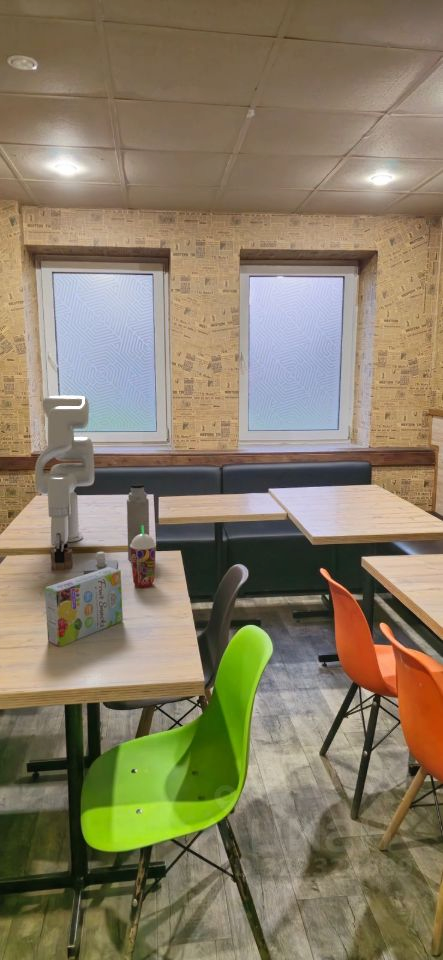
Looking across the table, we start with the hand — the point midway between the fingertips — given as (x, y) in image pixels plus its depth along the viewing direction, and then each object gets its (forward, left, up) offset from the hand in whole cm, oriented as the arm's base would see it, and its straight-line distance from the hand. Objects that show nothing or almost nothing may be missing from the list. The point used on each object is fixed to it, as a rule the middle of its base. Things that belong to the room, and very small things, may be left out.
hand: (61, 558), depth 214 cm
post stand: (+3, +14, -3) cm, 15 cm away
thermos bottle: (-9, +27, -4) cm, 29 cm away
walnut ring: (-1, 0, -3) cm, 3 cm away
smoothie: (+21, +29, -4) cm, 36 cm away
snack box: (+55, +14, -4) cm, 57 cm away
